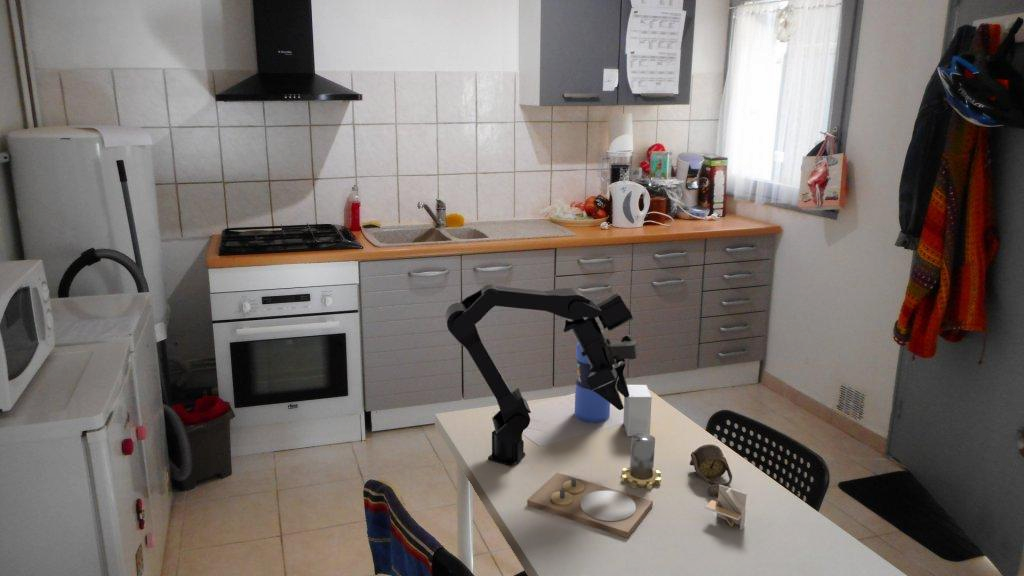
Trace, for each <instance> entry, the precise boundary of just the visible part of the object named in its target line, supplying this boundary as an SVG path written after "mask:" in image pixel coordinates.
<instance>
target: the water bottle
mask: <svg viewBox="0 0 1024 576" xmlns="http://www.w3.org/2000/svg"><path fill="white" fill-rule="evenodd" d="M597 324H598V325H599V327H600V329H601V331H602V333H603V334H604V331H603V330H604V329H603V327H602V326H601V324H600V322H597ZM582 351H583V350H582V348H581V346H580V344H579V342H578V341H577V343H576V344H575V359H576V367H577V368H576V369H577V374H576V379H575V387H574V388H575V391H574V393H575V394H574V417H575V418H576V419H578V420H580V421H581V422H586V423H592V424H593V423H594V424H595V423H597V424H598V423H603V422H605V420H606V421H607V420H609V418H610V415H611V413H610V411H611V403H609V402H608V401H607V400H606V399H604V398H603V397H601V396H600V395H599V394H597V393H596V392H593V391H592V390H589V388H588V386H587V384H586V381H587V378H588V376H589V375H590V373H591V371H590V368H591V365H590V363H589V361H588V360H587V358H586V356H584V357H583V356H582V354H581V352H582ZM602 421H603V422H602Z"/></svg>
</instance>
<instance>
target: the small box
mask: <svg viewBox="0 0 1024 576" xmlns="http://www.w3.org/2000/svg"><path fill="white" fill-rule="evenodd" d="M627 387H628V391H629V396H628V397H626V398H625V397H624V396H623V401H624V402H623V407H624V408H623V426H624V429H625V432H626V435H627V437H632V436H633V435H634V434H637V433H646V434H650V435H651V419H652V401H653V400H652V399H653V397H652V395H651V393H650V390H649V387H648V385H647V384H627Z"/></svg>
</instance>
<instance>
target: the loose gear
mask: <svg viewBox="0 0 1024 576" xmlns="http://www.w3.org/2000/svg"><path fill="white" fill-rule="evenodd" d="M655 446H656V437H655V436H653V434H651V433H650V434H646V433H637V434H634V435H633V436H631V443H630V458H629V459H630V460H629V467H627V468H626V467H623V468H622V469H621V481H622V482H623V483H627V484H629V485H631V486H630V487H631V488H634V489H637V488H642V489H643V488H645V489H646V490H649V489H650V490H651V489H653V488H652V487H654V486H656V485H657V486H660V485H661V484H662V477H661V474H662V473H661V471H660V470H655V469H654V464H655V448H656V447H655Z"/></svg>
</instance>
